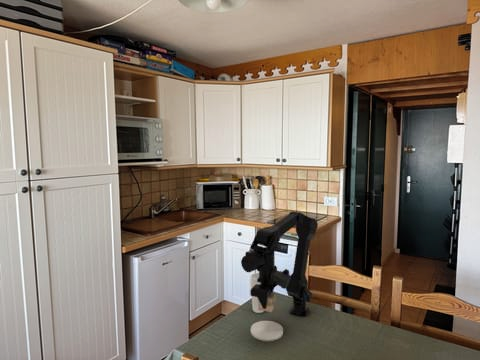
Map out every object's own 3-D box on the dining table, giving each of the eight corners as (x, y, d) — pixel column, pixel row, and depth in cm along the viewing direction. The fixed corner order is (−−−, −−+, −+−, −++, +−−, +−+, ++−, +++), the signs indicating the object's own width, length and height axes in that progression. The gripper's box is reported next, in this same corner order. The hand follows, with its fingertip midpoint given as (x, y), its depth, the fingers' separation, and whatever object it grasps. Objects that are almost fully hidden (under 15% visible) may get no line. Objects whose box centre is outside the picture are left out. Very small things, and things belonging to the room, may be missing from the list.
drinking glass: (265, 315, 138) (265, 279, 136) (249, 313, 139) (249, 278, 137) (267, 307, 144) (267, 273, 142) (252, 305, 146) (251, 272, 144)
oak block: (262, 303, 128) (262, 291, 127) (275, 305, 126) (275, 293, 125) (258, 309, 123) (258, 296, 123) (271, 312, 121) (271, 299, 121)
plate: (256, 320, 133) (256, 318, 133) (286, 326, 129) (286, 324, 129) (245, 337, 122) (245, 334, 122) (277, 344, 118) (277, 341, 118)
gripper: (281, 277, 111) (281, 322, 113) (294, 258, 128) (294, 297, 130) (249, 272, 115) (250, 316, 117) (266, 255, 132) (266, 293, 134)
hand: (266, 305), depth 124 cm, fingers closed on oak block, 5 cm apart
